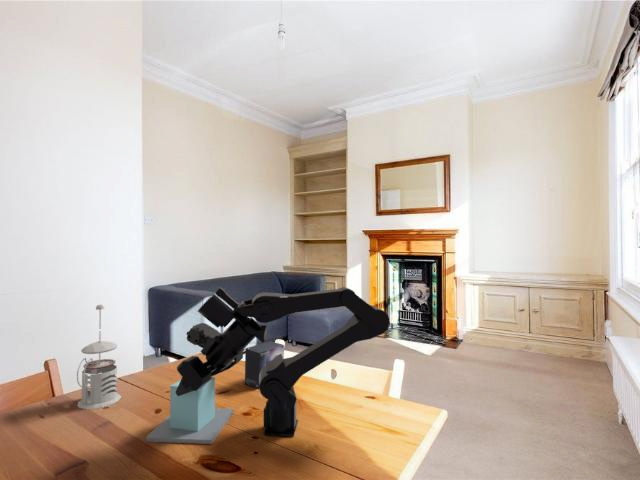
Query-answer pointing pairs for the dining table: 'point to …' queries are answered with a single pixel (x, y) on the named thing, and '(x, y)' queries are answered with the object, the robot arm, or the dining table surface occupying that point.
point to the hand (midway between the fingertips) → (190, 385)
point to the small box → (259, 360)
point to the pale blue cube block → (192, 407)
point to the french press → (98, 376)
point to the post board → (187, 436)
